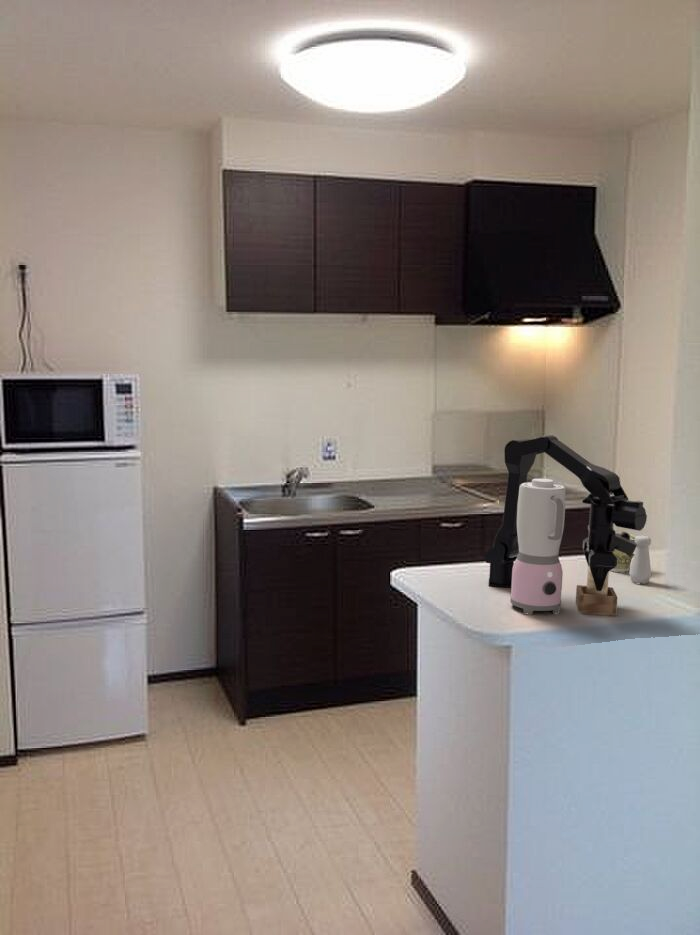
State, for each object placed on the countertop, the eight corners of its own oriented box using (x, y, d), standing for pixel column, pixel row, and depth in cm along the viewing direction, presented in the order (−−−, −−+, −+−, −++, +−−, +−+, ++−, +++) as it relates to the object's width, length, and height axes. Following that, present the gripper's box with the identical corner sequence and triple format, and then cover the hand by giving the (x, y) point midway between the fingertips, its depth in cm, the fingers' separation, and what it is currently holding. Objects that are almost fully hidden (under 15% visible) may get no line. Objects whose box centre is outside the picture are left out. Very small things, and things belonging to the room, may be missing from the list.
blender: (501, 602, 222) (508, 476, 218) (544, 599, 226) (552, 475, 221) (531, 621, 207) (539, 487, 203) (577, 618, 211) (586, 486, 206)
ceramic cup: (603, 573, 253) (606, 539, 252) (595, 564, 263) (597, 531, 262) (649, 575, 253) (652, 540, 251) (639, 566, 263) (641, 533, 261)
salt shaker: (651, 585, 241) (655, 539, 239) (629, 584, 242) (633, 537, 240) (649, 580, 247) (652, 534, 245) (627, 578, 248) (631, 533, 246)
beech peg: (586, 608, 216) (589, 569, 215) (584, 602, 221) (587, 564, 220) (607, 610, 216) (610, 570, 214) (605, 604, 221) (607, 565, 219)
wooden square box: (578, 613, 215) (579, 594, 214) (575, 602, 224) (576, 585, 223) (616, 615, 214) (617, 597, 213) (611, 605, 222) (612, 587, 222)
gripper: (641, 533, 205) (636, 598, 207) (629, 518, 223) (625, 578, 226) (592, 530, 207) (587, 595, 209) (584, 515, 225) (580, 574, 227)
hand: (596, 585), depth 218 cm, fingers open, 9 cm apart
